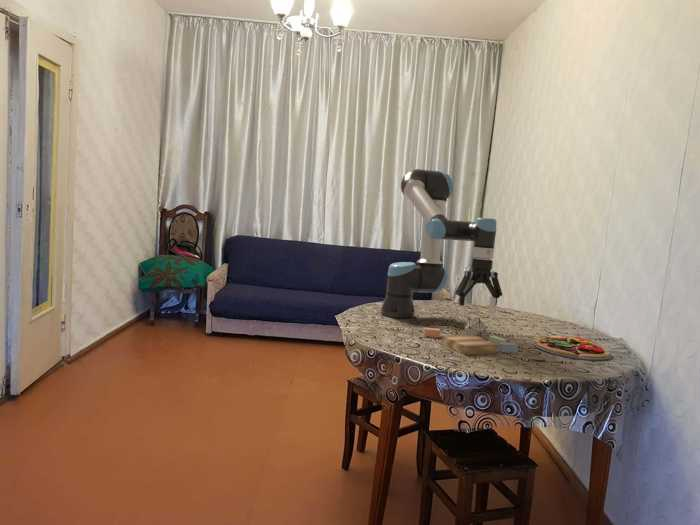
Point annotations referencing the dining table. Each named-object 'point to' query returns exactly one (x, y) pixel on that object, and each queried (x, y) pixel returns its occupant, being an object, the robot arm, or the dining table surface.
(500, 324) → the dining table surface
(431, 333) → the terracotta brick
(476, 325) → the game die
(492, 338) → the sage brick
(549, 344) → the toy pizza
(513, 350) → the slate blue brick
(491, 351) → the oak block
